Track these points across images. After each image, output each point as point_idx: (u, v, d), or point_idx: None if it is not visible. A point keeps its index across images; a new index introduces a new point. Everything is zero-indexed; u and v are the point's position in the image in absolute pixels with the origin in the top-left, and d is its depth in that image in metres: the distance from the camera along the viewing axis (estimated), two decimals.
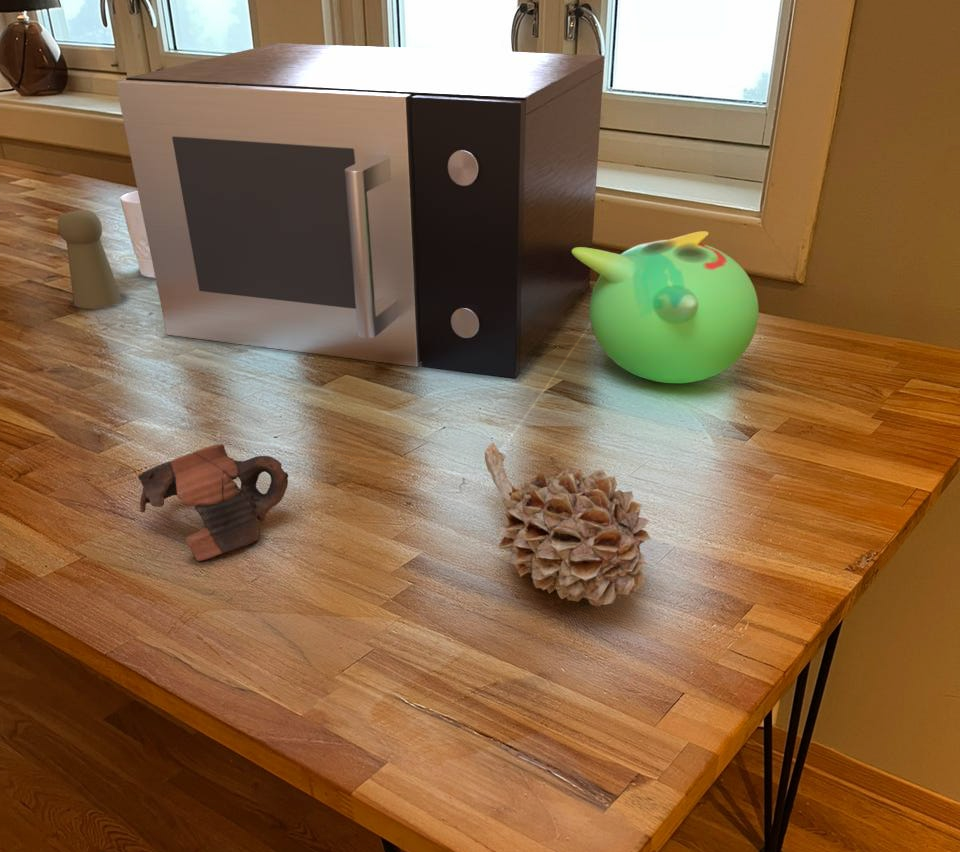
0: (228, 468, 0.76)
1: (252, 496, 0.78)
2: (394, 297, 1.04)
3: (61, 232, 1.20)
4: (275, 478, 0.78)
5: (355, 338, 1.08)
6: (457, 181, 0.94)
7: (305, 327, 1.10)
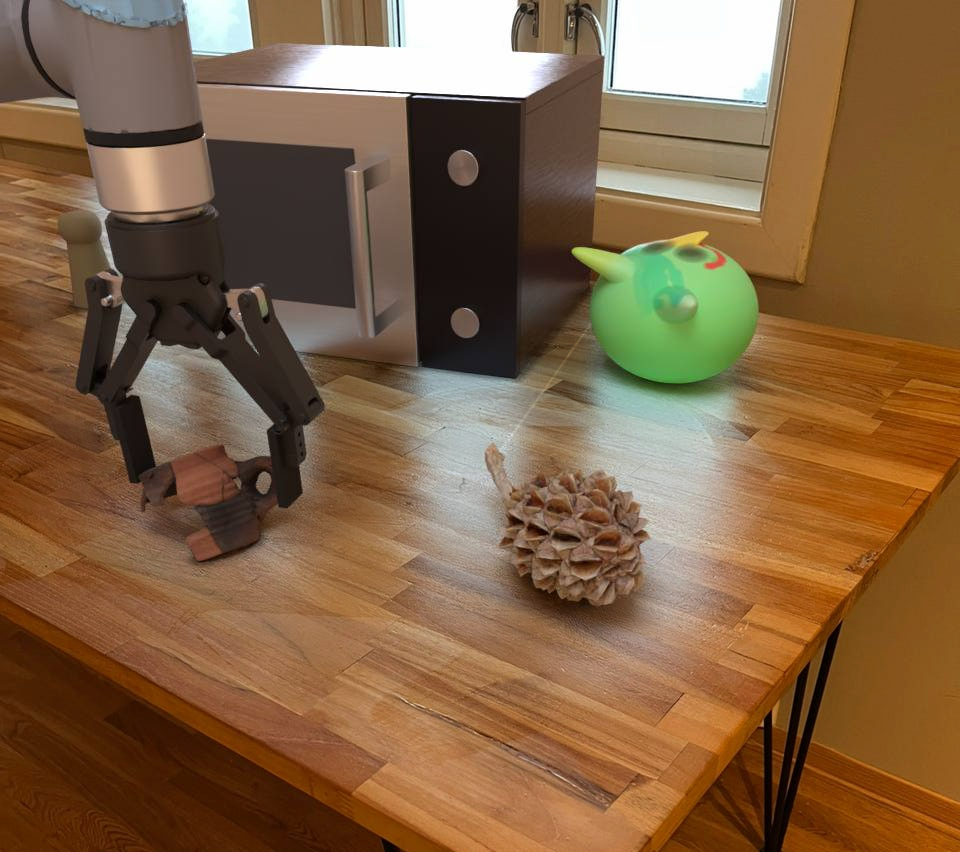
0: (228, 468, 0.76)
1: (252, 496, 0.78)
2: (394, 297, 1.04)
3: (61, 232, 1.20)
4: None
5: (355, 338, 1.08)
6: (457, 181, 0.94)
7: (305, 327, 1.10)
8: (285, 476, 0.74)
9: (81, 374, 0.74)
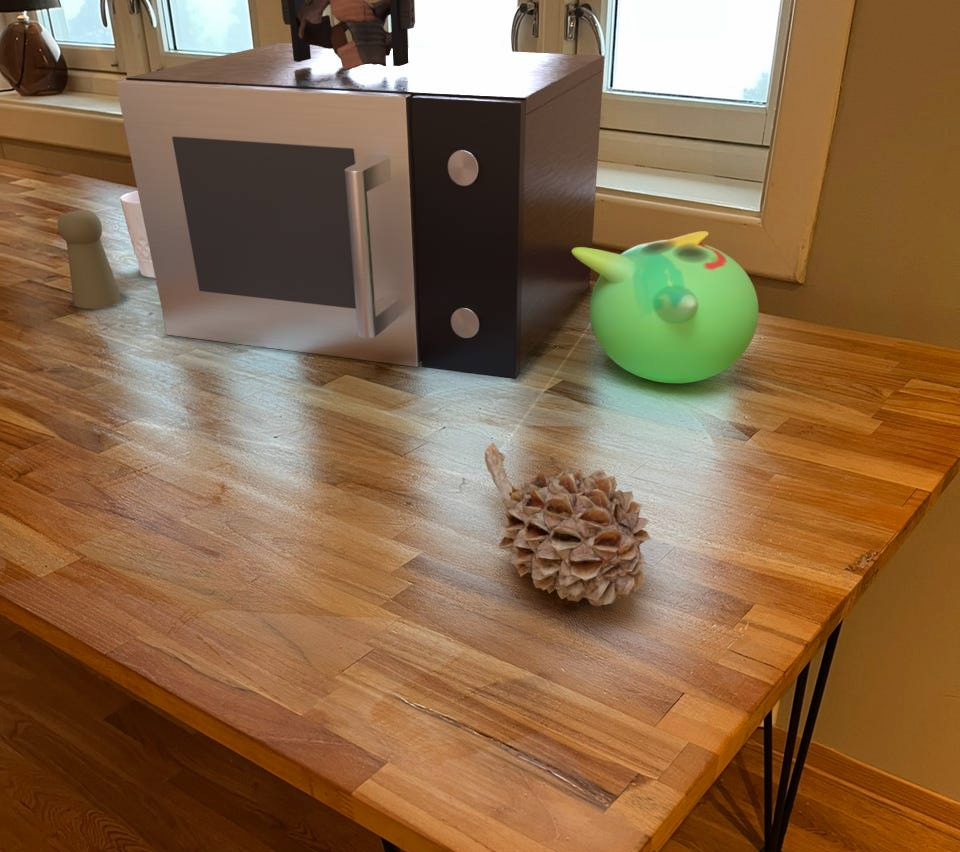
0: (367, 1, 1.02)
1: (383, 29, 1.04)
2: (394, 297, 1.04)
3: (61, 232, 1.20)
4: None
5: (355, 338, 1.08)
6: (457, 181, 0.94)
7: (305, 327, 1.10)
8: (399, 37, 1.02)
9: None
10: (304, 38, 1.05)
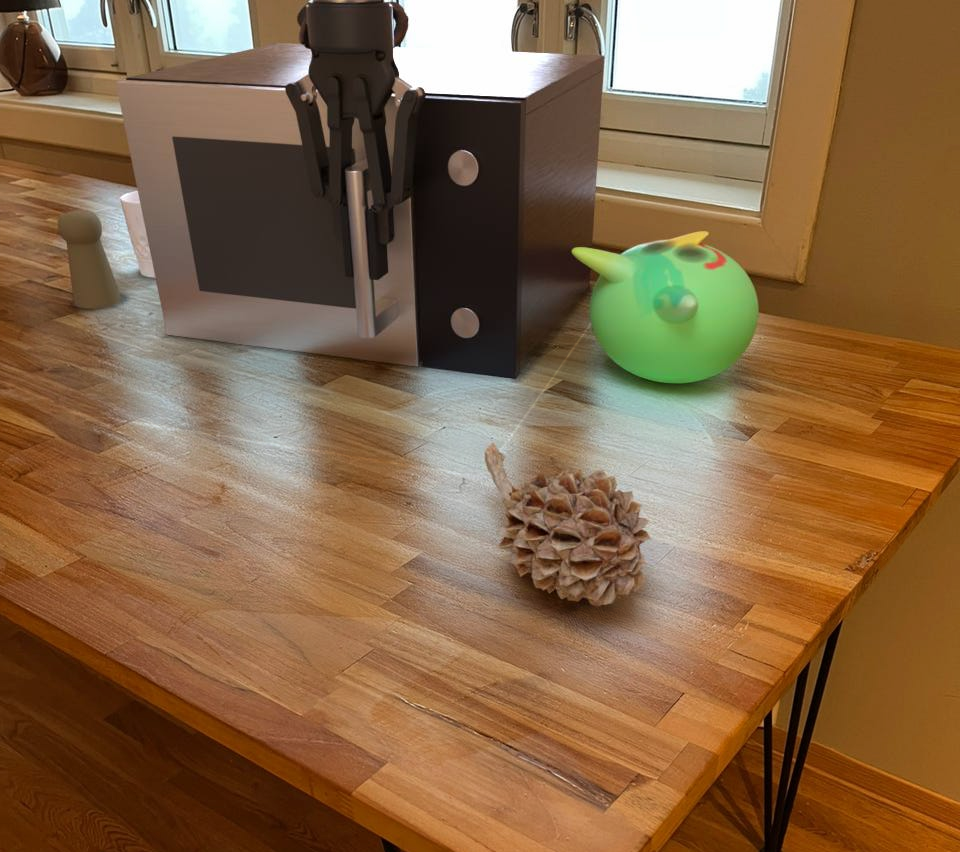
0: None
1: None
2: (394, 297, 1.04)
3: (61, 232, 1.20)
4: (400, 18, 1.04)
5: (355, 338, 1.08)
6: (457, 181, 0.94)
7: (305, 327, 1.10)
8: (377, 252, 0.95)
9: (312, 179, 0.93)
10: (304, 42, 1.05)
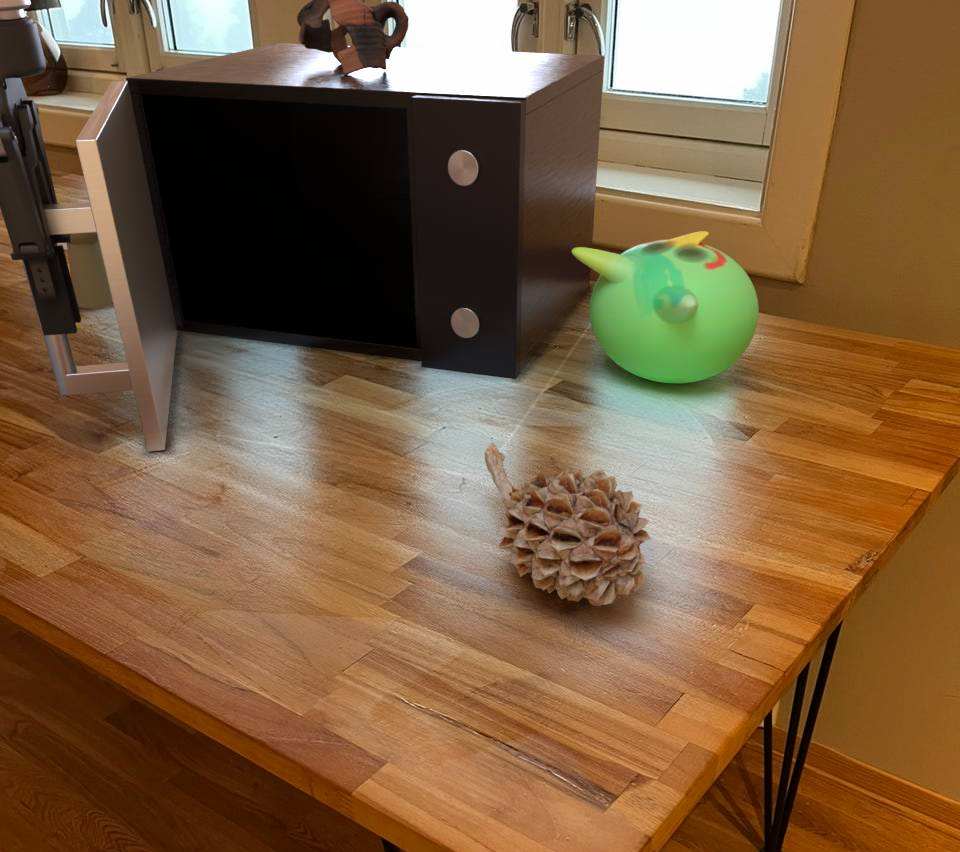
0: None
1: (383, 32, 1.04)
2: None
3: None
4: (400, 18, 1.04)
5: None
6: (457, 181, 0.94)
7: None
8: (40, 305, 0.83)
9: None
10: (304, 42, 1.05)
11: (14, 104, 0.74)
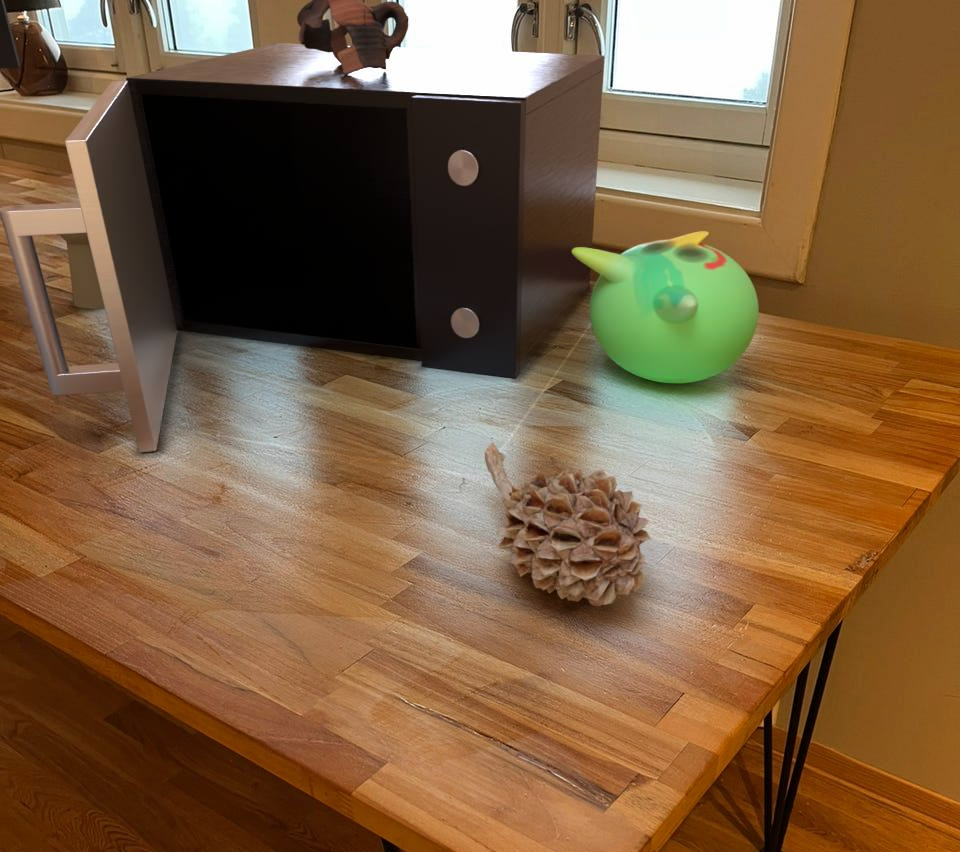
0: None
1: (383, 32, 1.04)
2: None
3: None
4: (400, 18, 1.04)
5: None
6: (457, 181, 0.94)
7: None
8: None
9: None
10: (304, 42, 1.05)
11: None
